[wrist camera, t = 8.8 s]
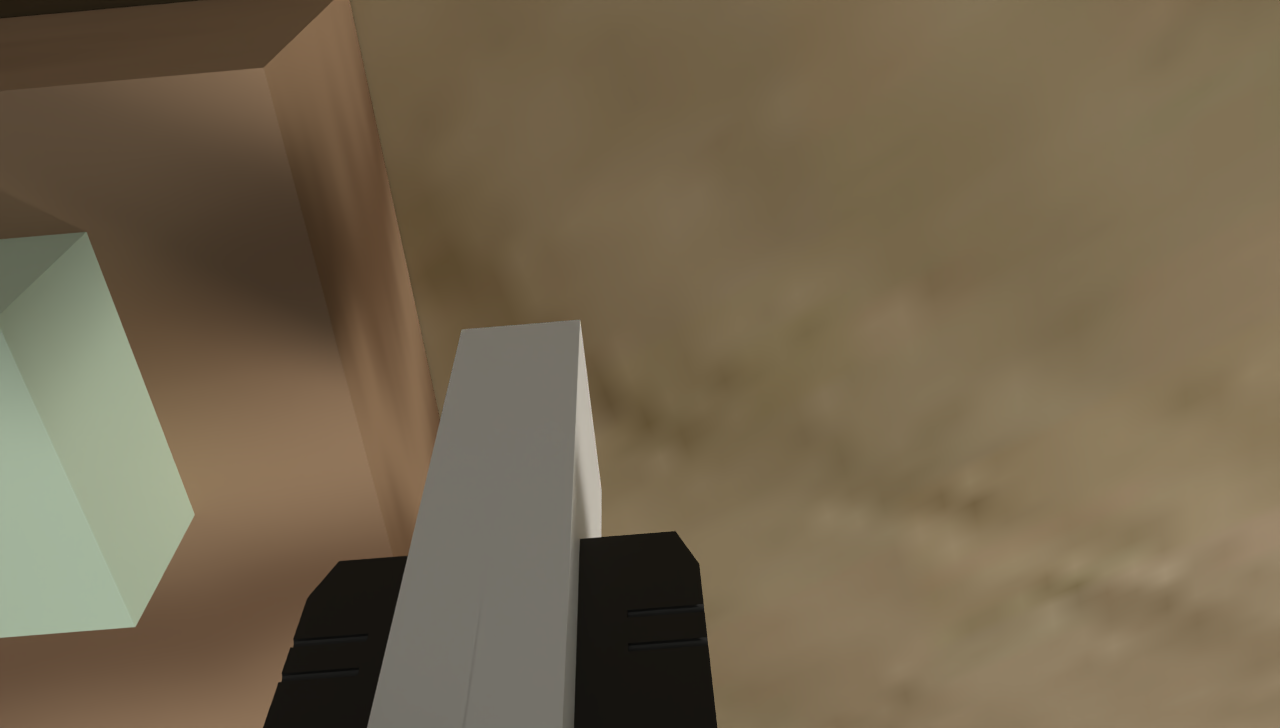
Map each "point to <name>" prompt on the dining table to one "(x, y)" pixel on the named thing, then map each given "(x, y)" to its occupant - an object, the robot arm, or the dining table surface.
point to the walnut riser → (224, 328)
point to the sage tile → (76, 450)
